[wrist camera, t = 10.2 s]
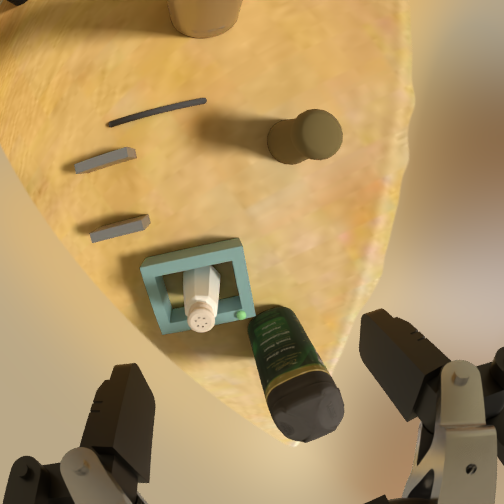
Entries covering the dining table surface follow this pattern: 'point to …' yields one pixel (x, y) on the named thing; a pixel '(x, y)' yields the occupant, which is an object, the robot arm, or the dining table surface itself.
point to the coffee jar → (294, 377)
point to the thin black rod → (157, 111)
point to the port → (193, 259)
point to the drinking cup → (17, 2)
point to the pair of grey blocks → (121, 226)
